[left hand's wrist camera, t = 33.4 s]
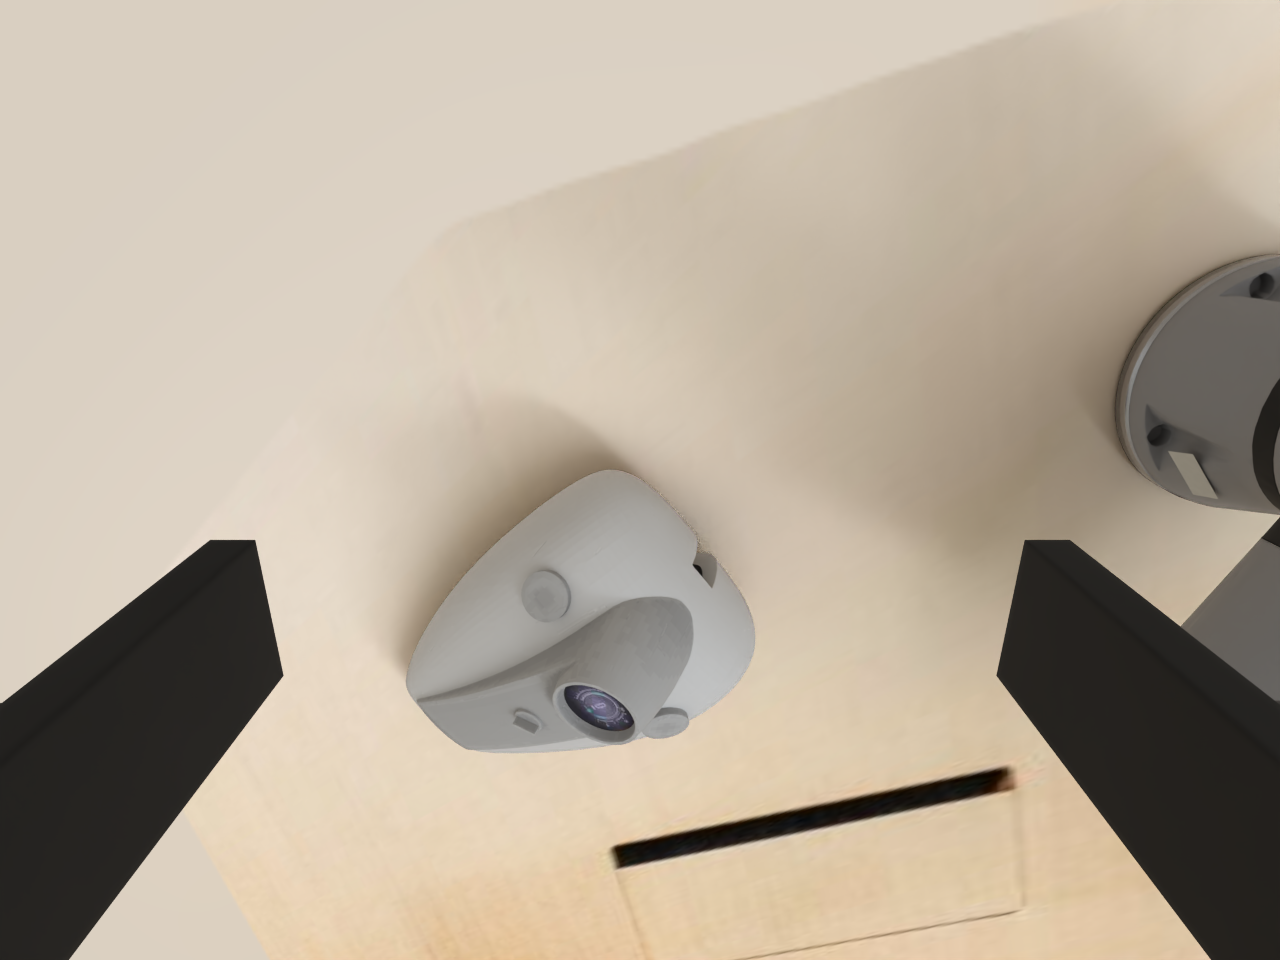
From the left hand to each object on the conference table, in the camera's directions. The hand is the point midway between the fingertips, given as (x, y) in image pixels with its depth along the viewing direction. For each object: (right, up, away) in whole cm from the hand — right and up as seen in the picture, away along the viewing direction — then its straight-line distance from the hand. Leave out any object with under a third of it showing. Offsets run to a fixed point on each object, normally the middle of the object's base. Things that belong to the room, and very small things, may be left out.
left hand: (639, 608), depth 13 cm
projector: (-5, -7, +38) cm, 39 cm away
